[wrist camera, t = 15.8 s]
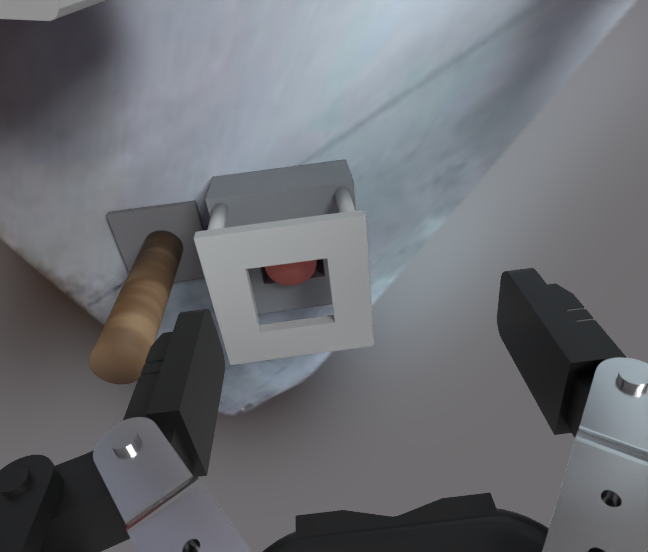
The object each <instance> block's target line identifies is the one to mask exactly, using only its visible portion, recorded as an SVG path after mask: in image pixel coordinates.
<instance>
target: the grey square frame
mask: <svg viewBox="0 0 648 552" xmlns="http://www.w3.org/2000/svg"><path fill="white" fill-rule="evenodd" d="M205 201H206V204H207V208H208V212H209V216H210V222H209V225H208V229H207V230H205V231H197V232H195V236H194V241H195V245H196V248H197V252H198V255H199V259H200V262H201V266H202V269H203V272H204V276H205V279H206V283H207V286H208V290H209V293H210V297H211V300H212V303H213V307H214V310H215V314H216V317H217V321H218V324H219V328H220V331H221V334H222V338H223V341H224V345H225V348H226V352H227V355H228V359H229V362H230V365H236V364H243V363H250V362H258V361H265V360H272V359H280V358H287V357H294V356H302V355H309V354H316V353H324V352H331V351H338V350H345V349H353V348H361V347H367V346H374V336H373V320H372V304H371V288H370V272H369V255H368V239H367V223H366V214H365V211H364V210H356V209H355V196H354V183H353V178H352V175H351V173H350V170H349V167H348V164H347V162H346V160H339V161H331V162H323V163H316V164H308V165H300V166H293V167H285V168H277V169H270V170H262V171H254V172H247V173H239V174H232V175H224V176H216V177H212V180H211V183H210V186H209V190H208V193H207V196H206V199H205ZM310 260H316V261H317V265H316V269H315V272H314V273H313V275H312V276H311V277H310V278H309V279H308V280H307V281H305V282H303V283H301V284H298V285H292V286H289V285H282V284H279V283H277V282H275V281H274V280H272V279H271V278H270V277H269V276H268V274H267V272H266V270H265V266H273V265H280V264H288V263H295V262H303V261H310ZM329 304H332V305H333V313H334V315H328V316H321V317H313V318H306V319H299V320H291V321H284V322H276V323H269V324H262V325H260V321H259V317H258V314H262V313H269V312H277V311H284V310H292V309H299V308H306V307H314V306H321V305H329Z"/></svg>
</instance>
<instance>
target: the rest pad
mask: <svg viewBox="0 0 648 552" xmlns="http://www.w3.org/2000/svg"><path fill="white" fill-rule="evenodd" d="M107 218H108V221H109V223H110V226H111V228H112V231H113V233H114V236H115V238H116V241H117V244H118V246H119V249H120V251H121V254H122V256H123V259H124V261H125V264H126V266H127V269H128V272H130V270H131V268H132V266H133V264H134V262H135V260H136V258H137V255H138V253H139V251H140V249H141V247H142V245H143V243H144V241H145V239H146V237H147V236H148V235H149V234H150V233H152V232H154V231H159V230H164V231H169V232H171V233H173V234H175V235H176V236H177V237H178V238H179V239H180V240H181V242H182V244H183V254H182V257H181V260H180V263H179V267H178V270H177V273H176V276H175V279H174V282H180V281H187V280H195V279H202V278H205V276H204V272H203V269H202V266H201V262H200V259H199V255H198V252H197V248H196V245H195V241H194V236H195V232H197V231H204V229H203V226H202V222H201V218H200V215H199V211H198V207H197V204H196V201H188V202H181V203H173V204H165V205H158V206H150V207H143V208H135V209H127V210H120V211H112V212H108V213H107Z"/></svg>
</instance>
